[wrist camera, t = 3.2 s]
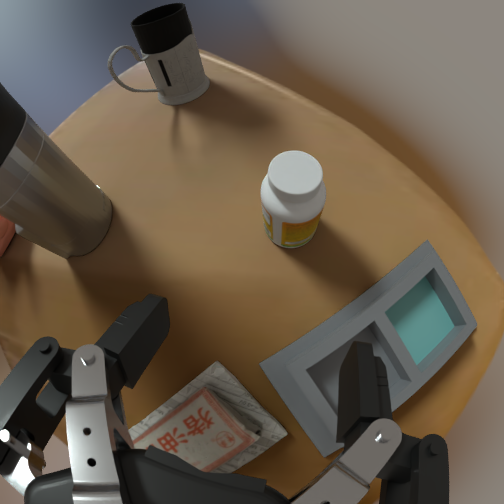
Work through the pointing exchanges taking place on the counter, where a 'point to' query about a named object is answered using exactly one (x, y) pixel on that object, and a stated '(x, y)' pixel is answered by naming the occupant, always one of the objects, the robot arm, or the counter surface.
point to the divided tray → (375, 342)
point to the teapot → (5, 233)
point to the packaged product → (210, 424)
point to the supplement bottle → (292, 198)
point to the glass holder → (168, 54)
